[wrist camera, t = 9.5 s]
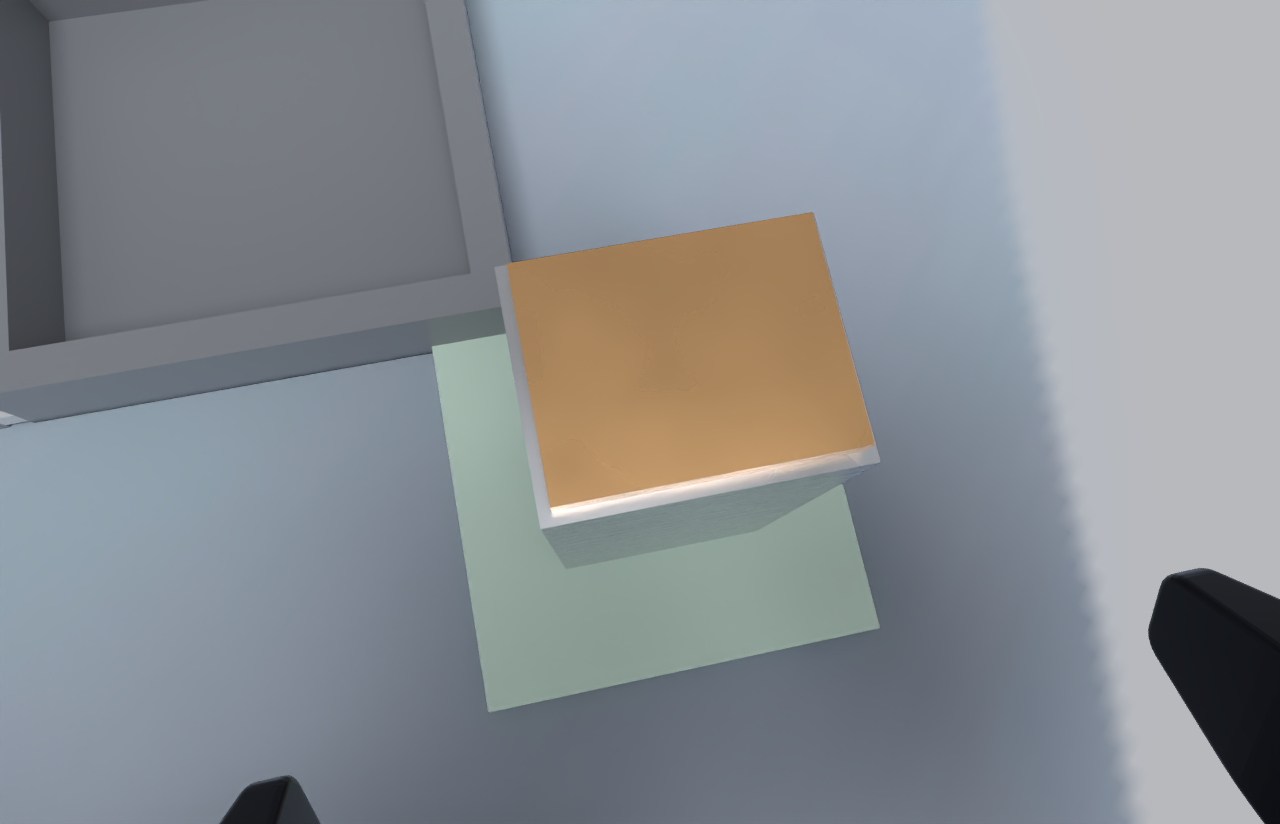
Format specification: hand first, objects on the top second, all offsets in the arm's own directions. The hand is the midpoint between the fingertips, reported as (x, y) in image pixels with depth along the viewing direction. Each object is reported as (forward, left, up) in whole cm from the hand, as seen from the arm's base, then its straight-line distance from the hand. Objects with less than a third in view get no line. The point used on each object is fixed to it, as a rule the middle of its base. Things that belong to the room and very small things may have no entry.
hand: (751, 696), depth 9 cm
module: (+4, -1, -13) cm, 14 cm away
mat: (+4, -1, -14) cm, 14 cm away
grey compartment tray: (+15, +15, -14) cm, 26 cm away
